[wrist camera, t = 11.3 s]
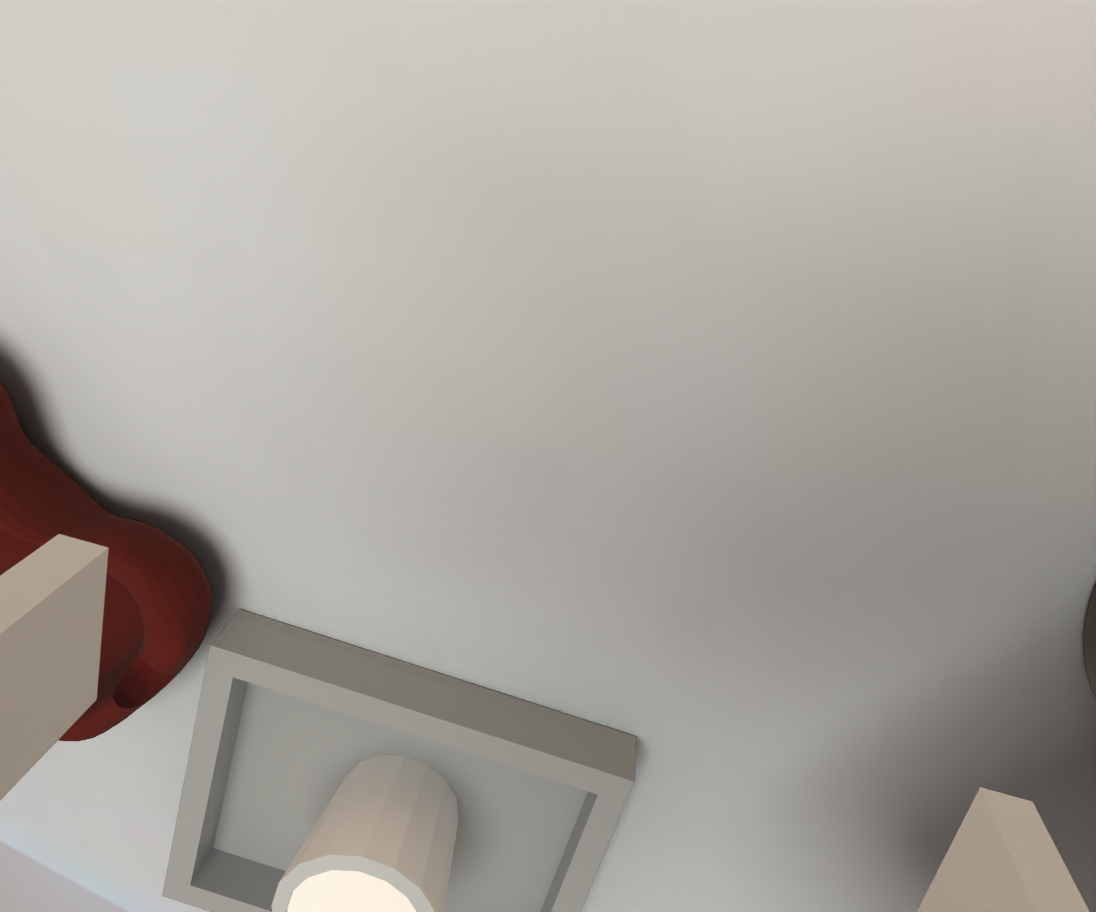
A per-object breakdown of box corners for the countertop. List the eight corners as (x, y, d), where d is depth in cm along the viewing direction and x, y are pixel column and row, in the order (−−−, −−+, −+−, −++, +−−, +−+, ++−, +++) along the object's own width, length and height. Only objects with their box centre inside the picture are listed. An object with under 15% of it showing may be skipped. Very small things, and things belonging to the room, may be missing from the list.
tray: (636, 736, 43) (634, 781, 40) (544, 963, 48) (536, 1017, 45) (240, 609, 43) (210, 644, 40) (191, 849, 48) (162, 895, 45)
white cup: (353, 871, 46) (302, 997, 40) (307, 753, 44) (245, 867, 38) (489, 854, 45) (459, 982, 39) (448, 733, 43) (410, 847, 36)
